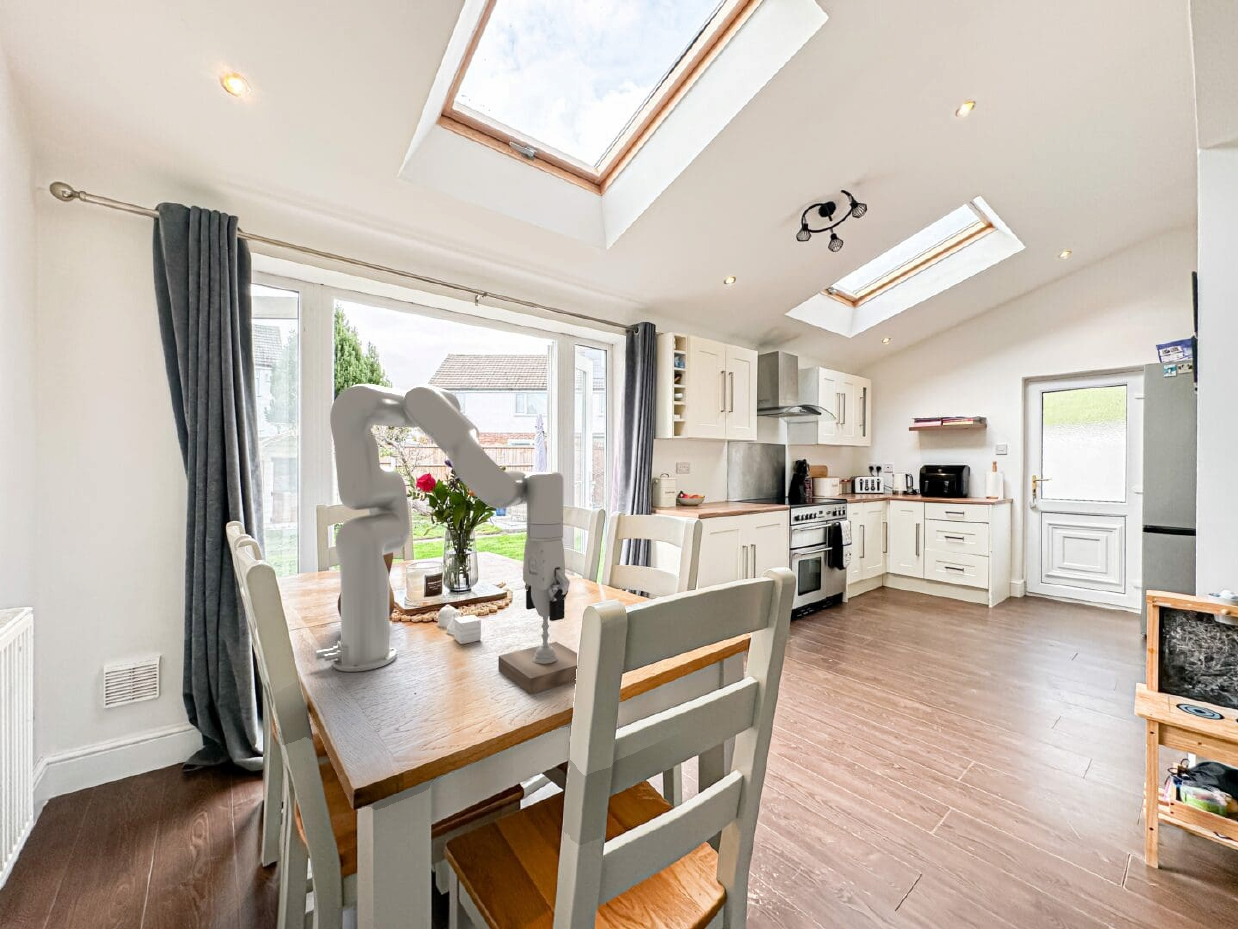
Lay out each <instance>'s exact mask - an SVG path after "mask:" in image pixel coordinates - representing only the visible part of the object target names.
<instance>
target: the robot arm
mask: <svg viewBox="0 0 1238 929" xmlns="http://www.w3.org/2000/svg"><path fill="white" fill-rule="evenodd" d="M329 422H330V424H329V425H330V429H331V430H330V431H331V434H332V439H333V445H334V446H333V447H334V454H335V468H336V479H337V489H338V495H339V499H340V502H341V503H342V505H343V506H344V507H345V508H348V509H350V510H353V511H355V510H356V511H364V510H368V512H369V514H368V515H367V514H366V515H362V516H357V517H354V518H351V519H350V520H348V521H346V522H345V523H343V524H342V525H341V526H340V527H339V529H338V530H337V533H336V536H335V549H336V554H337V559H338V564H339V566H338V567H339V572H340V573H339V574H340V575H339V576H340V577H339V578H340V592H341V617H340V640H338V641H336V645H332V648H324V649H323V648H322V649H318V650H315V656H314V657H315V661H320V660H323V661H324V662H328V661H332V667H333V668H334V669H335V670H338V671H341V672H346V673H347V672H364V671H370V670H374V669H377V668H382V667H384V666H387V665H389V664H391V663H393V662H394V660H396V658H397V656H398V650H397V649H396V648H394V647H393V646H390V617H389V581H390V575H389V574H388V569H387V566H386V564H385V561H384V558H383V555H386V554H389V553H392V552H393V553H395V552H397V551H399V550H401V549H402V548H403V547H404V546H405V545H406V543H407V542H408V540H409V537H410V530H411V529H410V527H411V526H410V516H409V515H410V514H409V506H408V505H409V504H408V496H407V494H408V493H407V487H406V484H405V481H404V478H403V477H402V474H400V472H398V470H396V469H395V468H392V467H390V466H385V465H381V461H380V454H379V453H380V451H379V446H378V442H377V438H376V436H375V435H374V433H373V430H372V428H371V427H372V426H373V425H375V426H381V427H382V426H385V427H390V428H393V427H394V428H419V429H420V430H421V432H423V433H424V434H425V435H426V436H427V437H428V438H429V439H430V440H431V441H432V442H433V443H434V444H435V445H436V446H437V447H438V448H439V449H440V450H441V451H442V452H443V453H444V454H445V455H446V456H447V458H448V461H449V463H450V466H451V467H452V469H453V470H454V473H455V474H456V476H457V477H458V478H459V480H460V481H461V482H462V484H464V485H465V486H466V487H467V489H469V491H471V493H473V494H474V495H475V496H476V497H477V499H479V501H481V502H482V503H483V504H485V505H486V506H489V507H490V508H493V509H496V510H499V509H500V510H502V509H506V508H510V507H515V506H520V505H526V539H525V542H524V543H525V544H524V552H523V564H522V565H523V566H522V581H523V582H524V583H525V585H524V590H525V609H526V610H528V611H529V610H534V609H536V608H535V606H534V604H533V600H532V597H531V581H532V578H531V576H530V574H534V575H538V576H537V578H536V579H535V583H536V588H538V589H540V590H547V589H548V591H549V594H550V597H551V601H549V617H548V620H549V621H550V622H556V621H560V620H563V619H565V607H566V606H565V600H566V599H567V595H568V594H569V592H568V591H569V588H570V584H571V583H570V580H569V578H568V577H567V576H566V562H565V547H564V541H563V539H564V477H563V474H561V473H559V472H557V471H534V472H533V471H532V472H531V471H523V470H517V469H516V470H515V469H512V470H511V469H509V470H508V469H507V470H504V469H503V468H501V467H500V466H499V465H498V464H497V463H496V462H495V461H494V460H493V459H492V458H491V457H490V456H489V455H488V454H487V452H486V451H485V450H484V448H483V447H482V446H481V444H480V441H479V440H480V439H479V436H480V431H479V428H478V427H477V426H476V425H475V424H474V423H473V422H472V421H471V420H470V419H469V418H468V417H467V416H465V414H463V412H462V411H461V404H460V401H459V400H458V398H457V396H455V394H453V393H452V391H449V390H446V389H444V388H440V387H437V386H433V385H429V384H419V385H415V386H413V387H411V388H410V389H408V390H397V389H394V388H390V387H385V386H381V385H376V384H370V383H360V384H354V385H351V386H349V387H346V388H345V389H344V390H342V391H341V392H340V393H339V394H338V395H337V396H336V398H335V400H334V402H333V403H332V406H331V409H330V414H329ZM529 573H530V574H529ZM554 576H555V577H554ZM553 583H556V585H552V584H553ZM556 589H558V591H557V592H556V594H555V592H554V590H556Z"/></svg>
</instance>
